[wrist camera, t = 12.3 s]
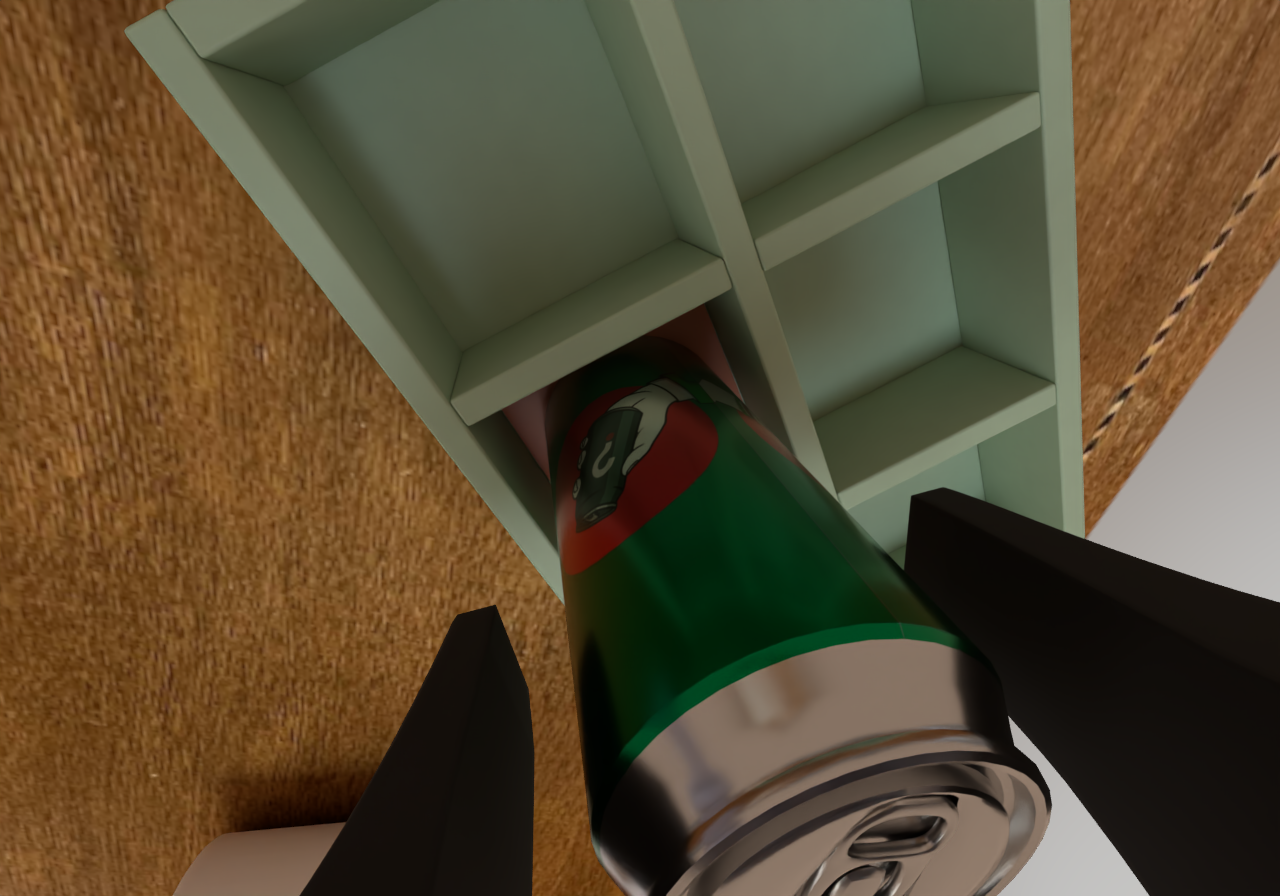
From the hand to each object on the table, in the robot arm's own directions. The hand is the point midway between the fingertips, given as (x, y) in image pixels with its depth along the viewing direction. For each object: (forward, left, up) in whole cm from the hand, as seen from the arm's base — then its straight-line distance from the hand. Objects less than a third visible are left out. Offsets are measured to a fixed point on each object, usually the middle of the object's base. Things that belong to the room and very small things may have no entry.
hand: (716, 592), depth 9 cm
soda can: (0, 0, -8) cm, 8 cm away
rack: (+4, 0, -8) cm, 9 cm away
